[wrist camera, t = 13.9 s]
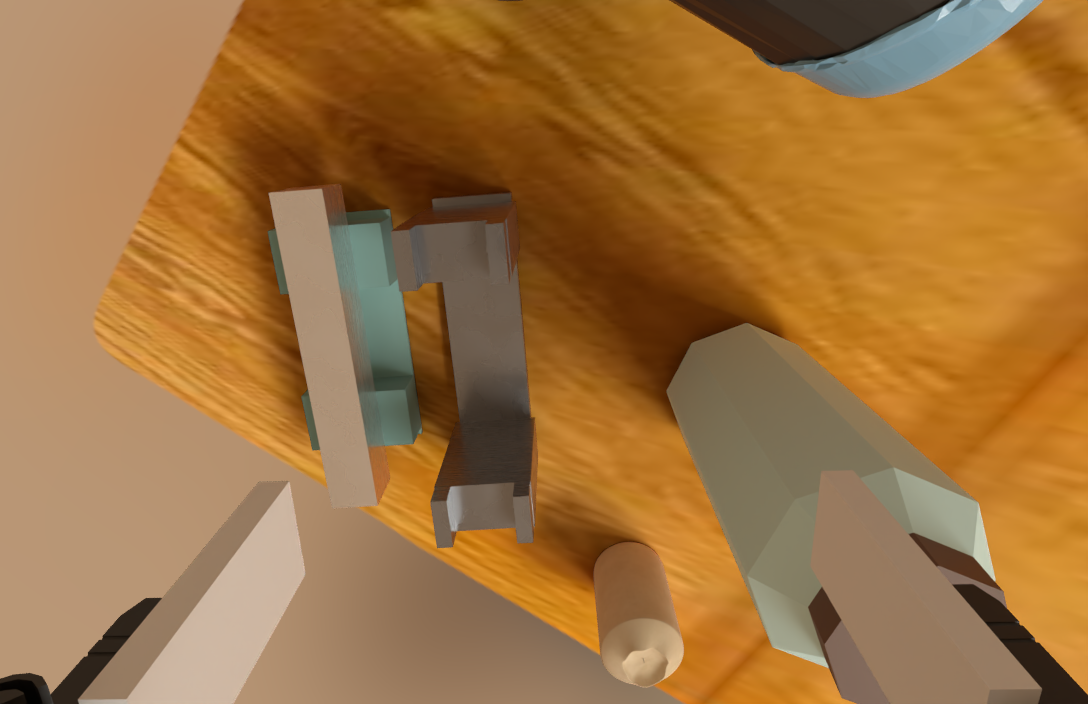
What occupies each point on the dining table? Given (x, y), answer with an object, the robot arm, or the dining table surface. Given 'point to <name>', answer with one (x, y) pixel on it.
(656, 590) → the candle
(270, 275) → the dining table surface
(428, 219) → the stand
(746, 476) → the water bottle
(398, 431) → the rest
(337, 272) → the rail
